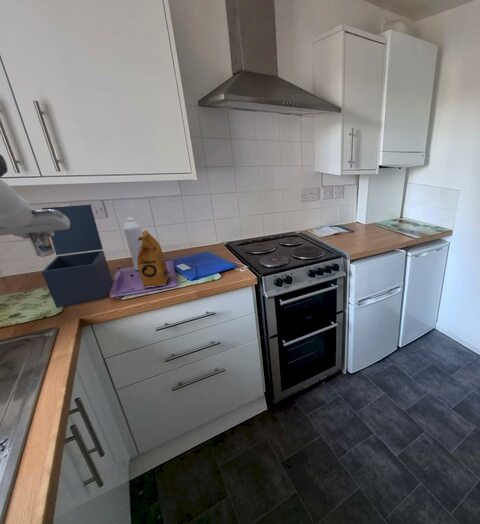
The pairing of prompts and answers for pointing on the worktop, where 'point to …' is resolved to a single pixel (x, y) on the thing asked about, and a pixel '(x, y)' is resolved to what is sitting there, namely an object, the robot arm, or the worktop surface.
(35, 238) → the beer can
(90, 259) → the storage box
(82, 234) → the box lid
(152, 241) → the coffee package
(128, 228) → the water bottle
